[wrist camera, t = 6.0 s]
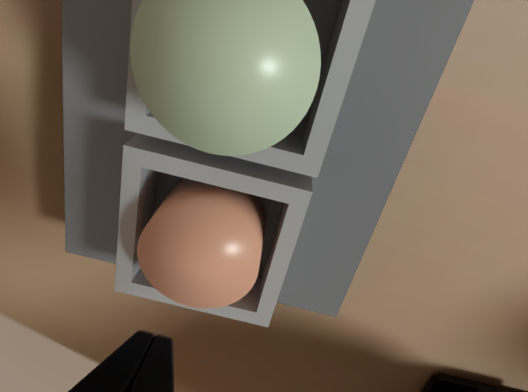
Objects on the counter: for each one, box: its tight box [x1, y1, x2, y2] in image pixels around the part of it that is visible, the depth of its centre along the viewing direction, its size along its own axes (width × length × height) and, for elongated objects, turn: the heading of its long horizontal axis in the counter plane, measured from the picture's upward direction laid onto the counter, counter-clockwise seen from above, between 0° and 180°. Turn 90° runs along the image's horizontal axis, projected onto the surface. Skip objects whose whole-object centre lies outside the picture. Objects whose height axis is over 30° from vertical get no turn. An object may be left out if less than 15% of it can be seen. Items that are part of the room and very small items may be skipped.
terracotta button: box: [137, 178, 266, 309], centre depth 14 cm, size 4×4×3 cm
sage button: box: [130, 0, 321, 156], centre depth 9 cm, size 4×4×3 cm
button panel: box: [61, 0, 474, 327], centre depth 12 cm, size 20×12×4 cm, turn 167°
